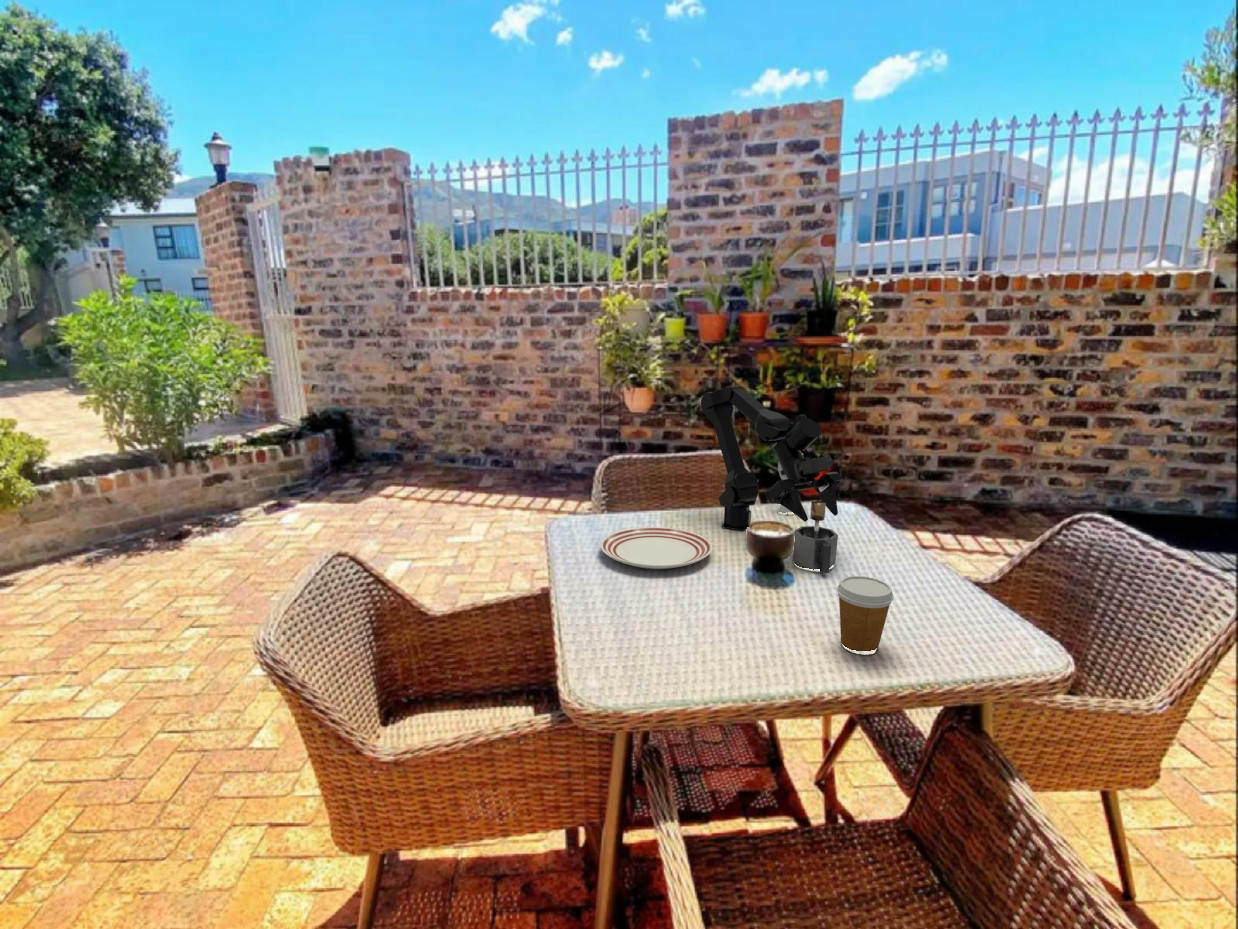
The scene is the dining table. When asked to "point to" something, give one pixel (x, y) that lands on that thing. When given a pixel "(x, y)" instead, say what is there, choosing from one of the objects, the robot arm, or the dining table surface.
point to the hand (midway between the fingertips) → (821, 517)
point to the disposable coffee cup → (863, 611)
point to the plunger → (817, 514)
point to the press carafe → (815, 548)
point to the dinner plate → (656, 547)
